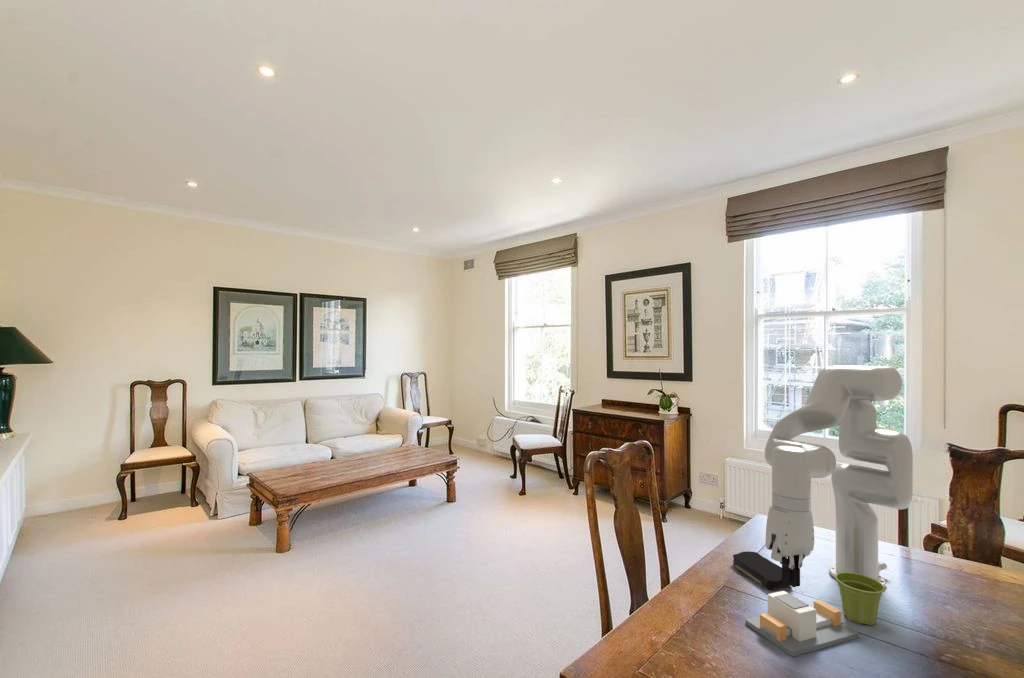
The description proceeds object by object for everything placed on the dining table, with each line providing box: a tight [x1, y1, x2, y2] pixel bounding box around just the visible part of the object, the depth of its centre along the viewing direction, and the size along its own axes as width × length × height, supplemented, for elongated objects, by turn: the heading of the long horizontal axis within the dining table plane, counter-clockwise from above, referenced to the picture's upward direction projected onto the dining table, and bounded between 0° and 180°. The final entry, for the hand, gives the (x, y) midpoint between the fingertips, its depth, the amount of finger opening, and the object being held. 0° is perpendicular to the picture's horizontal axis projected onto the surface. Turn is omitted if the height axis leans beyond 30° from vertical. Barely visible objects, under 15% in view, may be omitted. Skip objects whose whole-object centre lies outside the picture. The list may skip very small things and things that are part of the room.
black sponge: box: [732, 550, 791, 591], centre depth 128 cm, size 16×8×4 cm, turn 11°
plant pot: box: [834, 572, 886, 626], centre depth 108 cm, size 9×9×9 cm
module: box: [767, 590, 816, 642], centre depth 102 cm, size 5×8×6 cm, turn 19°
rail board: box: [744, 599, 860, 658], centre depth 103 cm, size 20×12×4 cm, turn 110°
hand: (790, 583), depth 102 cm, fingers closed
